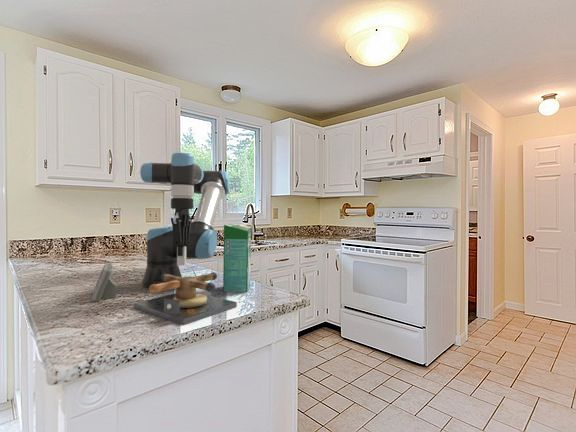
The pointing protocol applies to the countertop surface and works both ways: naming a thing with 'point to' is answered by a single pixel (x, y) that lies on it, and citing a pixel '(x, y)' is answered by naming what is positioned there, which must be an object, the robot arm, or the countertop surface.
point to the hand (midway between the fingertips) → (181, 264)
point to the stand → (180, 315)
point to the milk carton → (237, 258)
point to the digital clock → (105, 285)
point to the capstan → (186, 288)
